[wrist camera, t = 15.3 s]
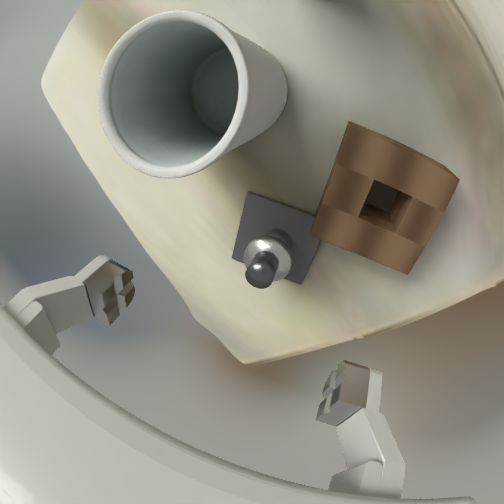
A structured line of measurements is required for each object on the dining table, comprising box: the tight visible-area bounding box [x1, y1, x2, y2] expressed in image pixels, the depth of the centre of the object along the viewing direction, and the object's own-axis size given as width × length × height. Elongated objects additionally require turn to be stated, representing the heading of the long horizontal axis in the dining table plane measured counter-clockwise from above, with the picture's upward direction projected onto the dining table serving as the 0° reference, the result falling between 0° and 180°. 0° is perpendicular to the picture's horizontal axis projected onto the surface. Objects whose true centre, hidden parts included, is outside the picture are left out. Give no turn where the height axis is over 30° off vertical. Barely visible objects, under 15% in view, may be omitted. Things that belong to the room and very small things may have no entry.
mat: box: [232, 192, 321, 285], centre depth 43 cm, size 12×12×1 cm
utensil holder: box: [98, 10, 288, 178], centre depth 26 cm, size 15×15×18 cm
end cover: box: [243, 228, 293, 289], centre depth 39 cm, size 6×6×9 cm
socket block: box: [310, 122, 460, 274], centre depth 32 cm, size 14×14×6 cm
